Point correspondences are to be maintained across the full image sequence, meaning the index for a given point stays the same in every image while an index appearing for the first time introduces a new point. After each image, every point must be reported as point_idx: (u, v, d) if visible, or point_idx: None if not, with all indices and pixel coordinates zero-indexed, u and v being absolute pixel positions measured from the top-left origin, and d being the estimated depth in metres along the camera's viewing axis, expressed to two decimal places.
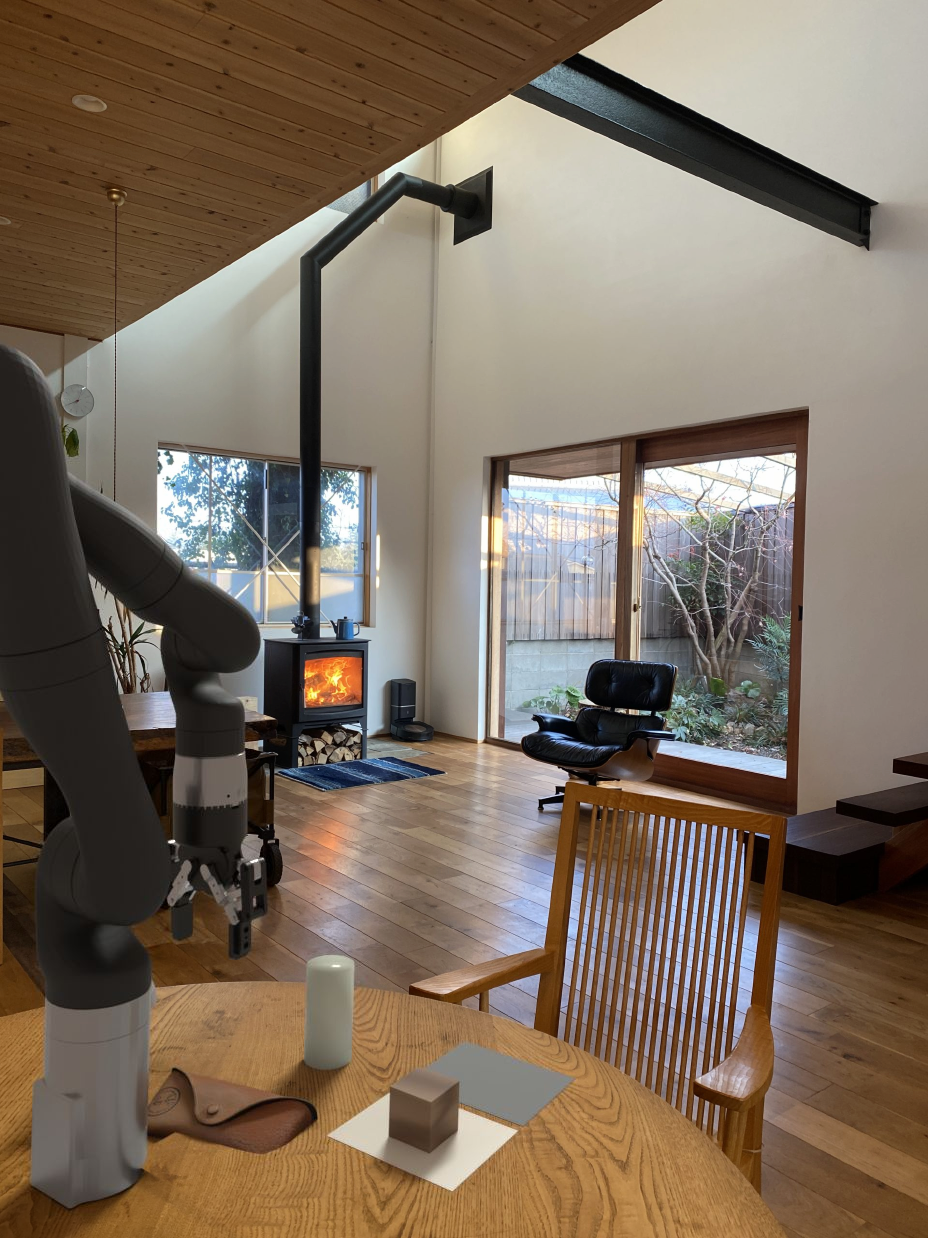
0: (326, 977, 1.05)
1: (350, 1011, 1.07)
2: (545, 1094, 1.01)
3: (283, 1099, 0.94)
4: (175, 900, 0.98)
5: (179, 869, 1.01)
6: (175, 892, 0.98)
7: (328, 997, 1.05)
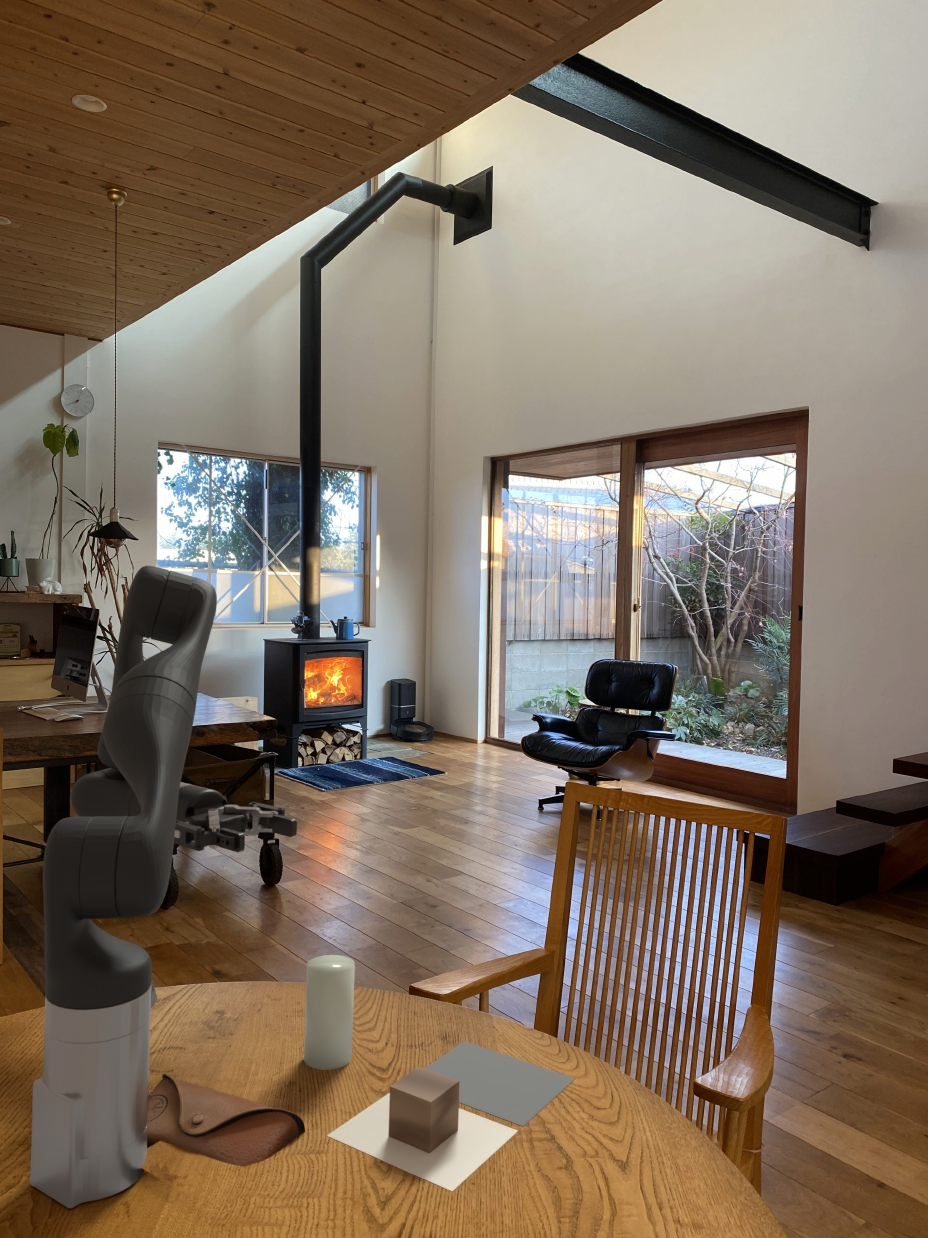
0: (326, 977, 1.05)
1: (350, 1011, 1.07)
2: (545, 1094, 1.01)
3: (269, 1110, 0.92)
4: (268, 831, 1.19)
5: (265, 810, 1.22)
6: None
7: (328, 997, 1.05)
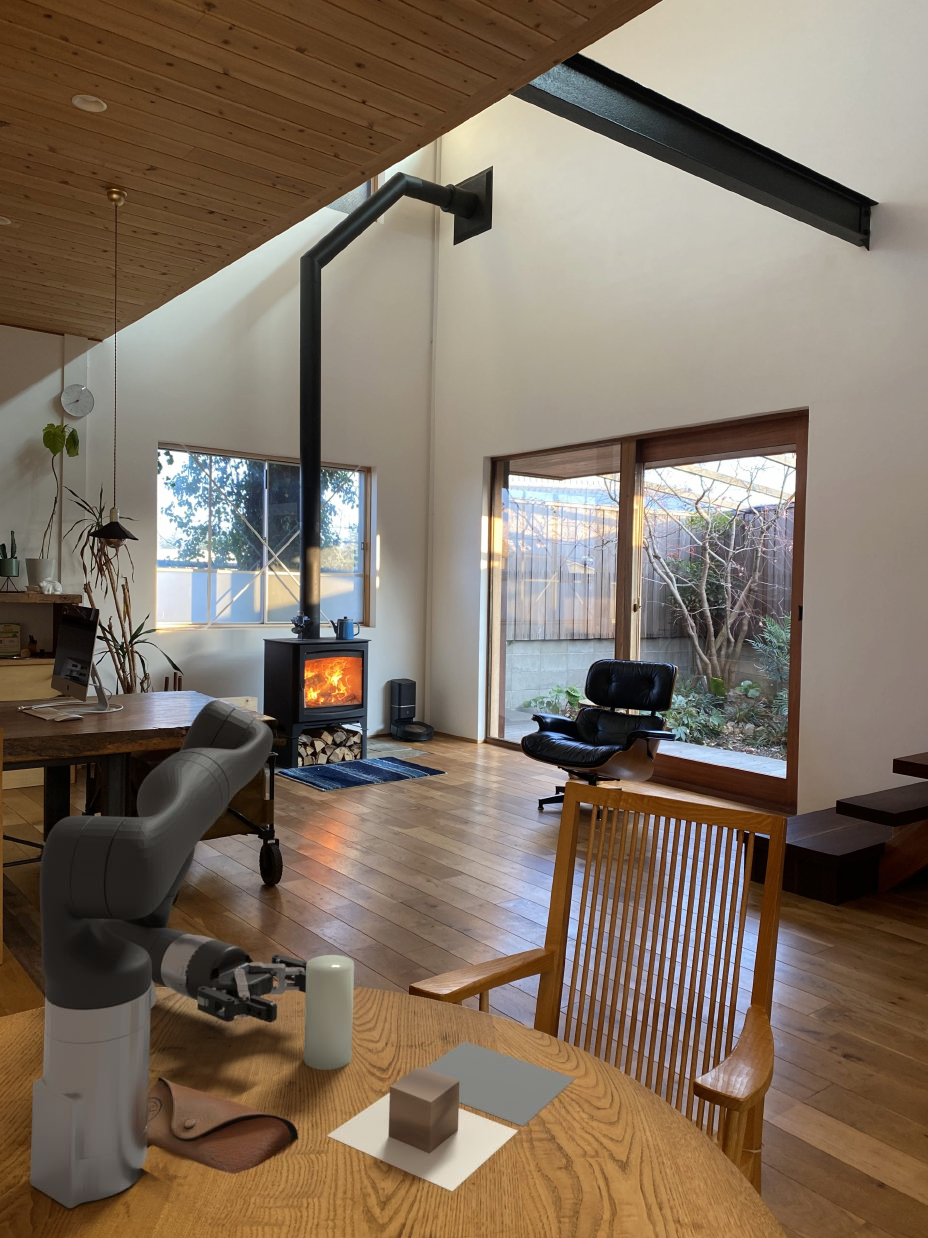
0: (326, 977, 1.05)
1: (350, 1011, 1.07)
2: (545, 1094, 1.01)
3: (261, 1116, 0.90)
4: (294, 989, 1.17)
5: (289, 965, 1.19)
6: None
7: (328, 997, 1.05)
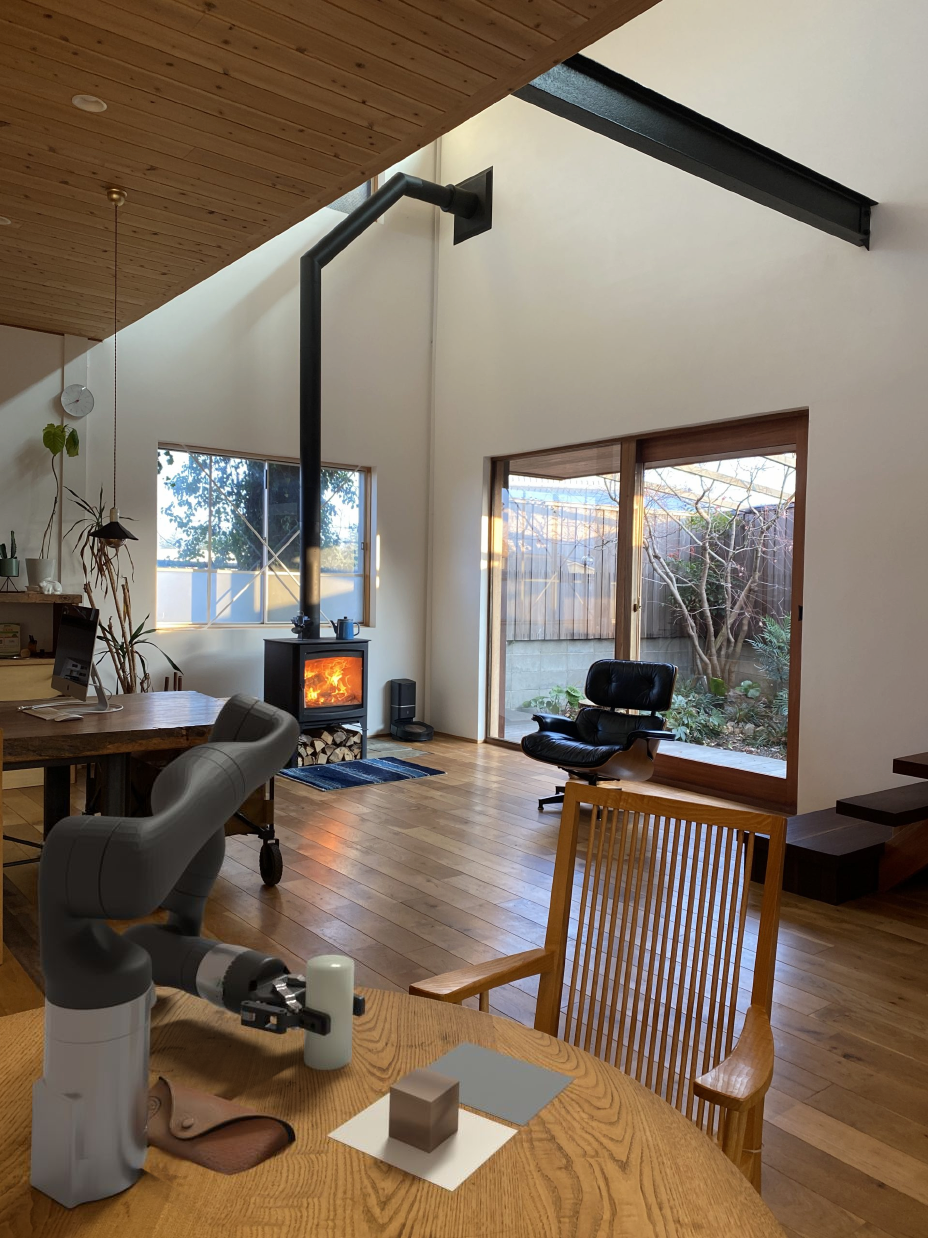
0: (326, 977, 1.05)
1: (350, 1011, 1.07)
2: (545, 1094, 1.01)
3: (259, 1117, 0.90)
4: None
5: None
6: None
7: (328, 996, 1.05)
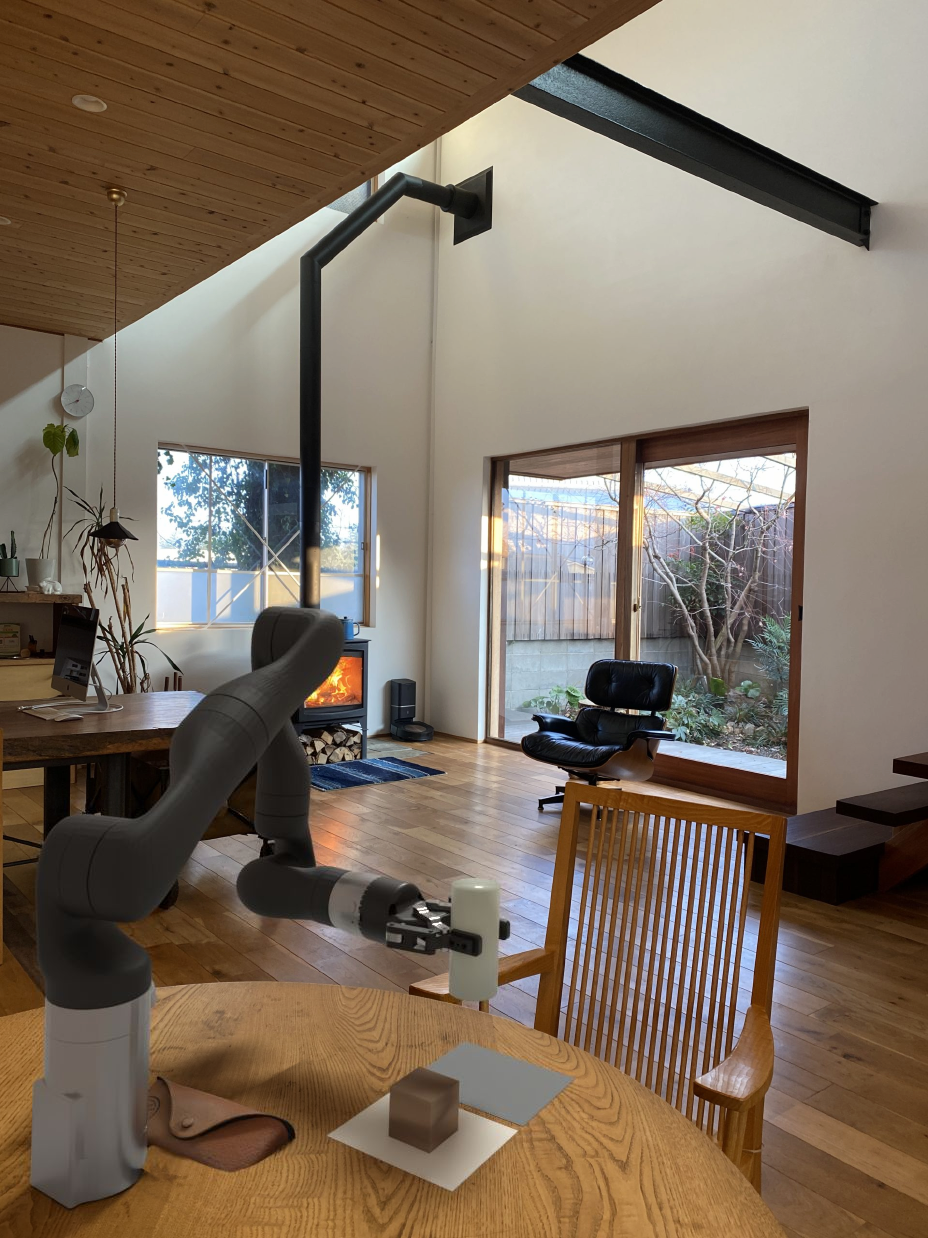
0: (475, 897, 1.02)
1: (497, 933, 1.03)
2: (545, 1094, 1.01)
3: (259, 1115, 0.91)
4: None
5: None
6: None
7: (477, 917, 1.02)
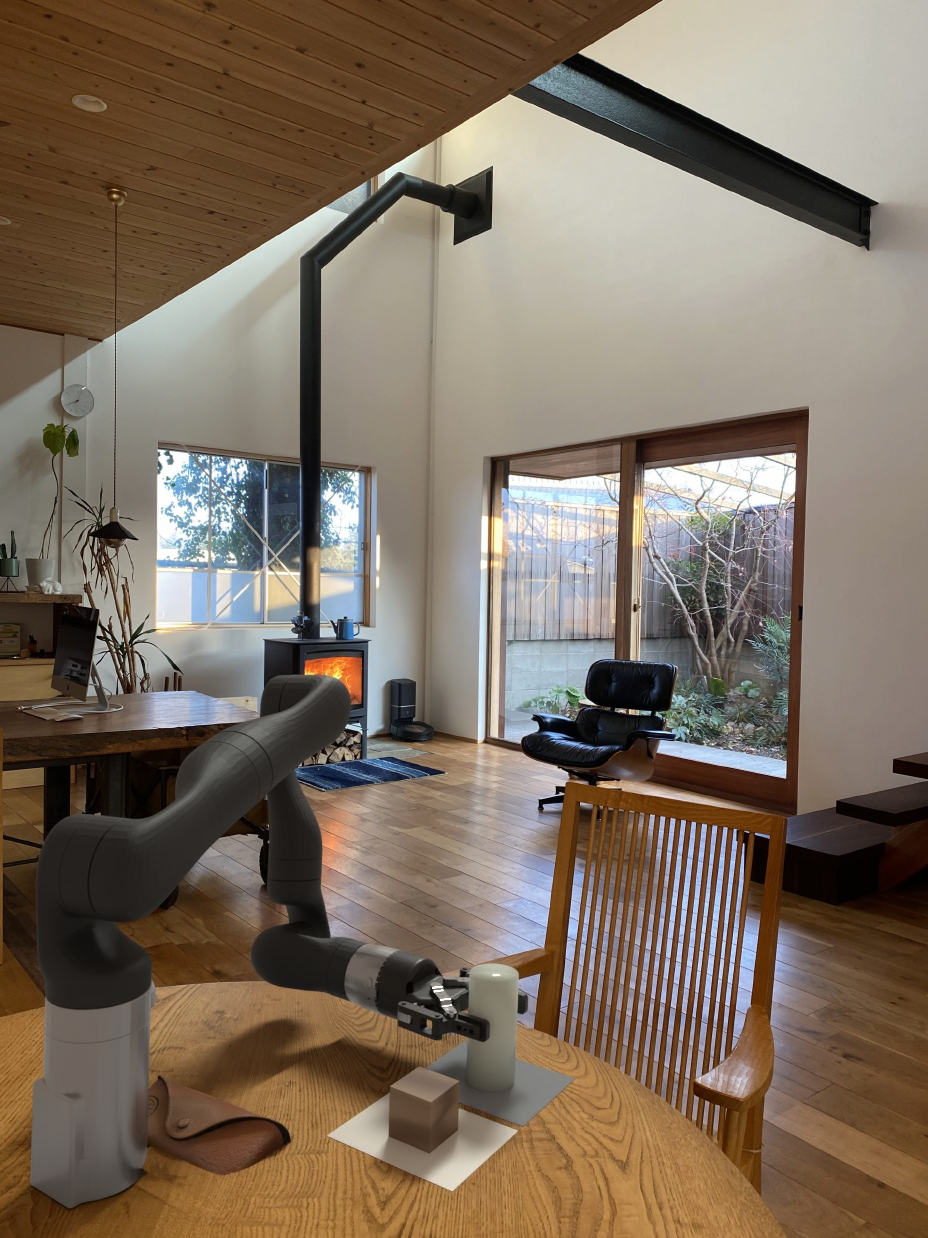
0: (494, 987, 1.01)
1: (515, 1022, 1.03)
2: (545, 1094, 1.01)
3: (254, 1118, 0.90)
4: None
5: None
6: None
7: (496, 1007, 1.01)
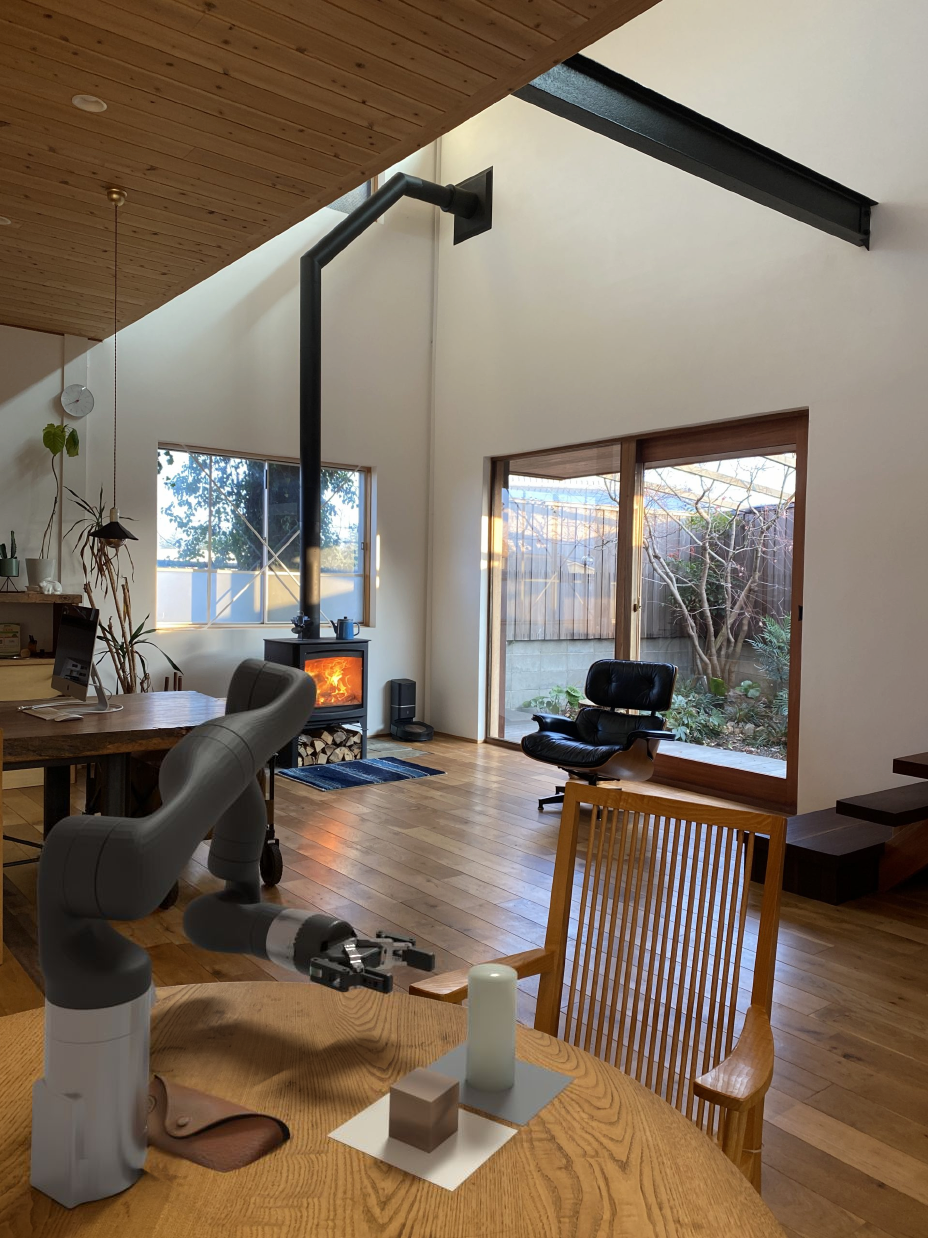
0: (493, 987, 1.01)
1: (515, 1022, 1.03)
2: (545, 1094, 1.01)
3: (253, 1115, 0.91)
4: (401, 964, 1.16)
5: (395, 940, 1.18)
6: None
7: (494, 1008, 1.01)
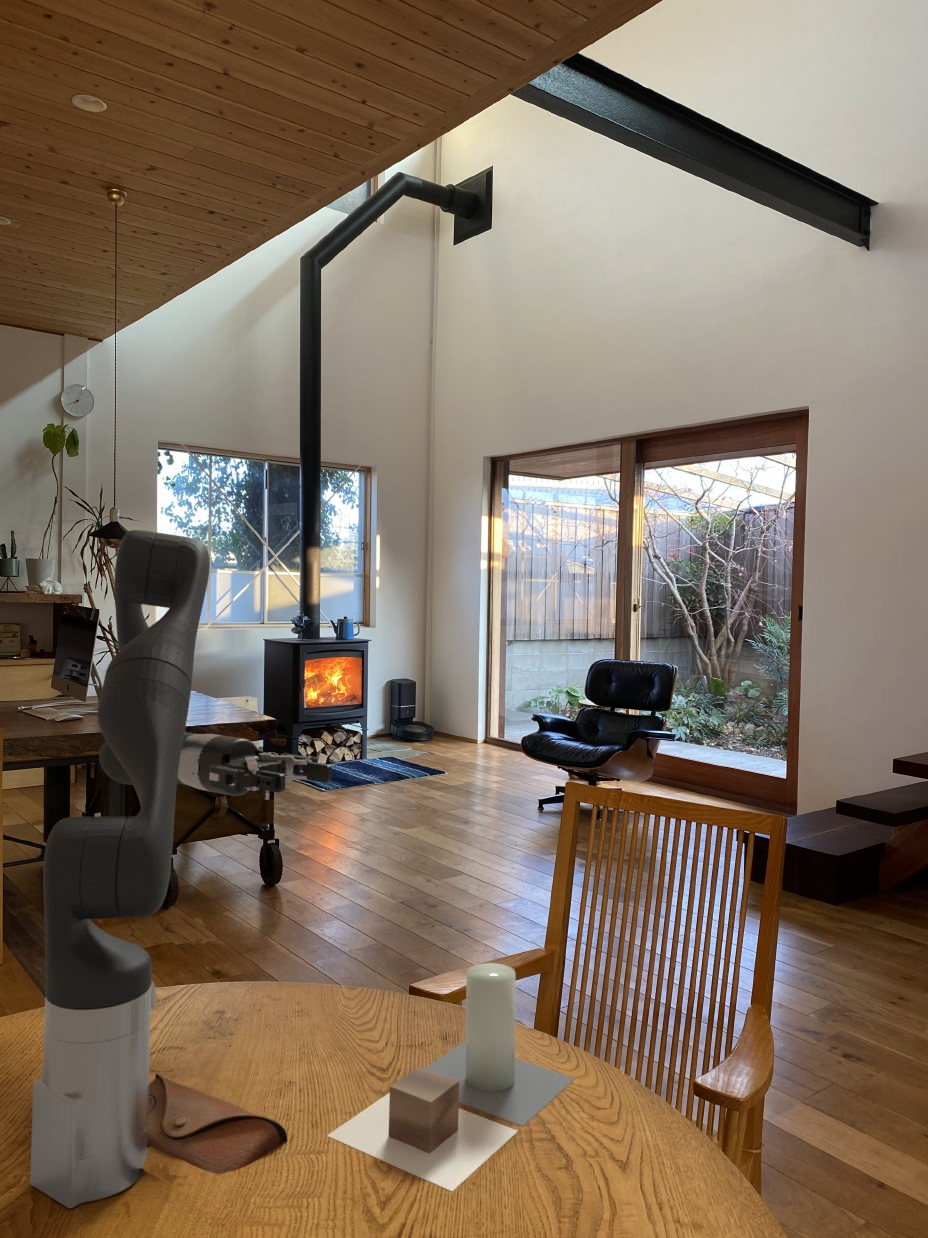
0: (492, 987, 1.01)
1: (514, 1021, 1.03)
2: (545, 1094, 1.01)
3: (250, 1117, 0.90)
4: (302, 779, 1.21)
5: (298, 760, 1.24)
6: None
7: (494, 1007, 1.01)
